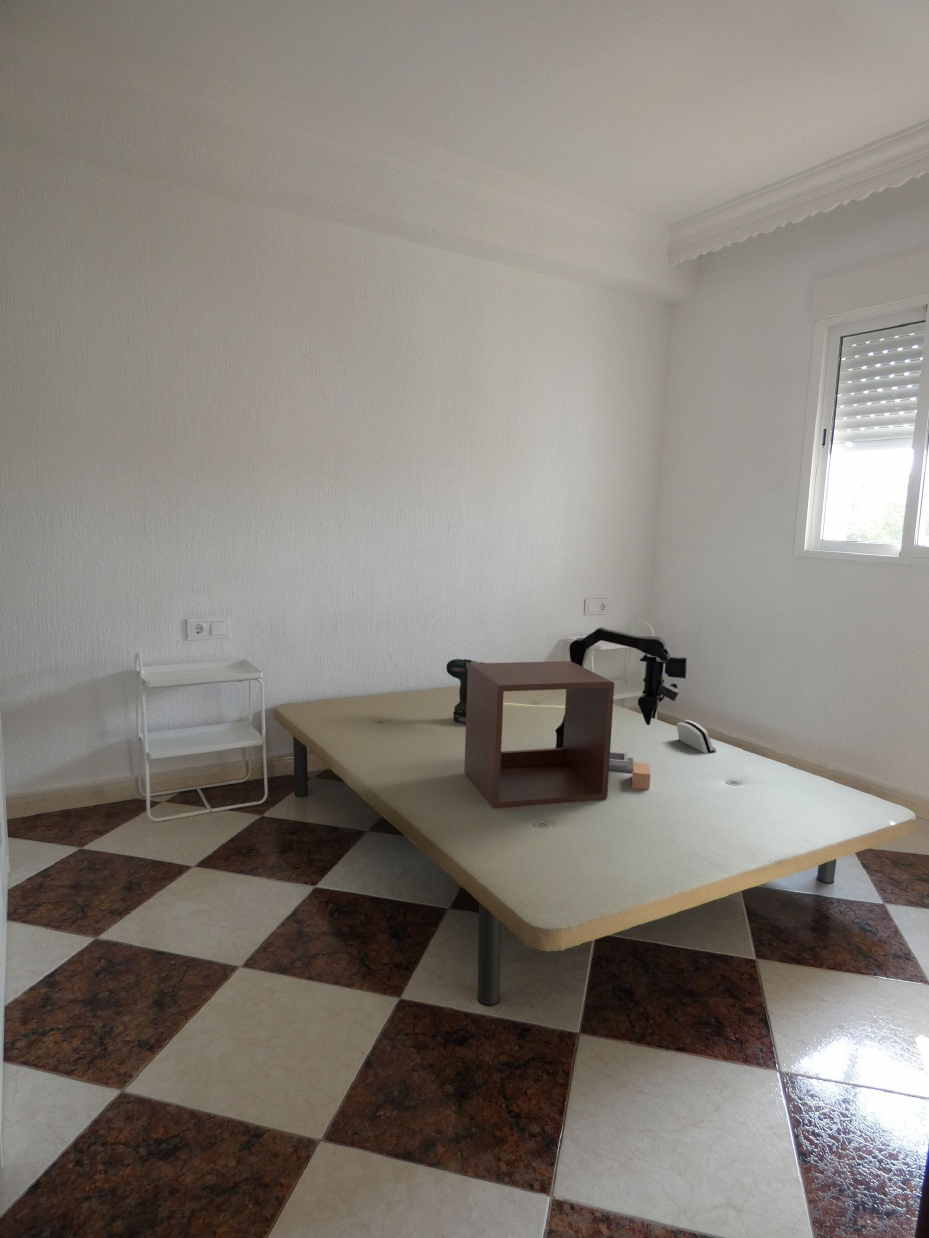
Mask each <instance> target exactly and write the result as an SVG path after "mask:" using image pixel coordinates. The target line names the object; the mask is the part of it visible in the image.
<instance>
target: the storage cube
mask: <svg viewBox="0 0 929 1238" xmlns="http://www.w3.org/2000/svg"><path fill="white" fill-rule="evenodd" d="M551 690H552V691H554V690H556V691H557V690H565V703H564V704H565V705H564V714H565V721H564V739H563V748H556V747H555V748H536V749H535V748H534V749H521V750H520V749H519V750H506V751H504V750H502V743H503V741H502V739H503V712H504V696H505V695H504V693H505V692H523V691H525V692H526V691H528V692H529V691H551ZM614 693H615V682H613V681H612V680H610V679H608V678H606V677H604V676H602V675H601V674H600V675H599V674H597V672H594V671H591V670H589V669H588V668H586V667H585V666H584V667H582V666H580V665H578V664H576V663H574V662H571V660H564V661H563V660H559V661H525V662H524V661H523V662H516V661H515V662H514V661H513V662H483V663H473V664H469V665H468V679H467V708H466V724H465V740H464V741H465V742H464V767H463V768H464V770H463V771H464V773H465V774H466V776H467V777H468V778H469V779H470V781H471V782H472V783H473V784H474V785H475V787H476V788H477V789H478V790H479V791H480V793H481V794H482V795H483V796H484V798H485V799H486V800H487V802H488V803H489V804H490V806H492V807H493V809H496V810H497V809H505V808H518V807H531V806H542V805H543V806H544V805H556V804H558V805H559V804H566V803H567V804H569V803H581V802H592V801H605V800H607V799H608V794H609V793H608V790H609V775H610V774H609V773H610V770H609V761H610V752H611V742H612V741H611V740H612V726H613V711H614V695H615V694H614Z"/></svg>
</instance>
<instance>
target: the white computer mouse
mask: <svg viewBox="0 0 929 1238" xmlns="http://www.w3.org/2000/svg"><path fill="white" fill-rule="evenodd" d="M676 730H677V735H678V740H679V741H681V742H683V743H684V744H686V745H688V744H689V745H688V746H691V747H692V746H693V747H692V748H694V747H695V748H694V749H696V750H698V751H699V752H702V753H703V754H708V753H709V751H710V752H714V753H717V748H716V747H715V746H713V745H712V744H713V743H712V742H711V741H712V740H711V738H710V735H709V732H708V731H707V729H705V728H704V727H703V726H702V725H700V724H699V723H697V722H695V721H693V720H689V719H688V720H687V719H686V720H682V721H681V722H678V723H677V724H676Z"/></svg>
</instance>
